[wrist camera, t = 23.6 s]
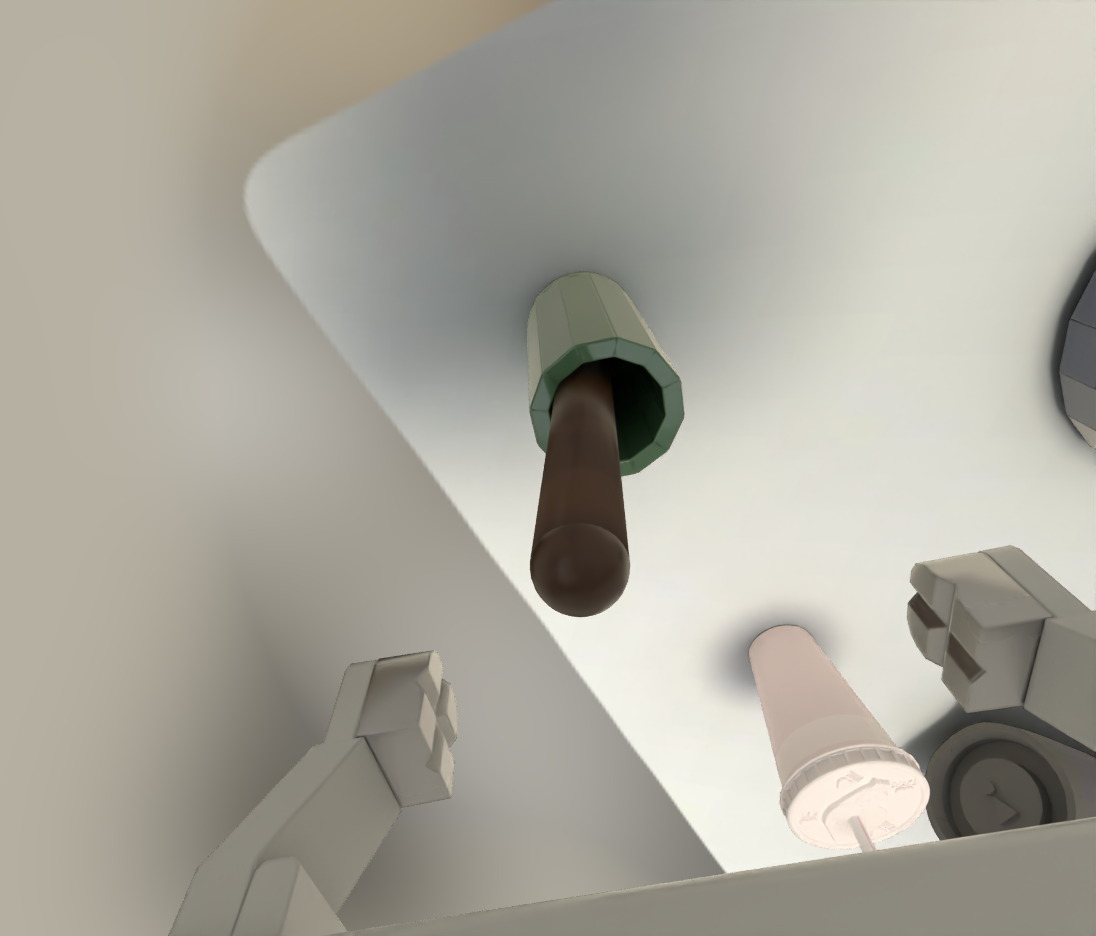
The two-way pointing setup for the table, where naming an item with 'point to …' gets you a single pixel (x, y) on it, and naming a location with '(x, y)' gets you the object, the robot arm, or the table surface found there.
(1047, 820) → the bluetooth speaker
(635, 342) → the holder
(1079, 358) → the bowl
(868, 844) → the smoothie
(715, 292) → the table surface
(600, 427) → the stick
